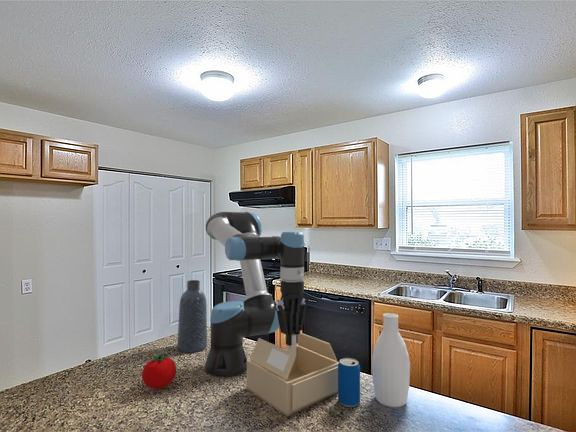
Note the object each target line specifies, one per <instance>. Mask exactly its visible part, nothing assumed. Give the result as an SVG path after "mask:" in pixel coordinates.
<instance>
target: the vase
mask: <svg viewBox="0 0 576 432" xmlns="http://www.w3.org/2000/svg"><path fill="white" fill-rule="evenodd" d="M200 282H201V281H200V280H195V279H191V280H187V282H186V284H187V285H186V287H187V288H186V290H185V291H184V292H183V293H182V295H181V297H180V298H179V309H178V324H177V325H178V328H177V347H176V348H177V350H178V351H179V352H182V353H196V352H200V351H203V350H205V349H206V348H207V347H208V323H207V322H208V321H207V320H208V319H207V318H208V317H207V315H208V314H207V313H208V312H207V311H208V310H207V297H206V294H205V293H204V292H203V291H202V289H200V287H201V286H200V285H201V283H200Z"/></svg>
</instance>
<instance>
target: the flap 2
mask: <svg viewBox="0 0 576 432" xmlns="http://www.w3.org/2000/svg"><path fill="white" fill-rule="evenodd" d="M299 332H300V334H299V335H298V342H297V344H296V345H299V346H301V347H303V348H306V349H308V350H311V351H313V352H315V353H318V354H320V355H323V356H325V357H327V358H330V359H332V360H335V361H337V362H338V359H337V357H336V354H335V353H334V350H333V347H332V345H331V343H329V342H328V341H324V340H323V339H319V338H317V337H314V336H311V335H308V334H305V333H303V332H302V331H299Z"/></svg>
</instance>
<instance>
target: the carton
mask: <svg viewBox="0 0 576 432" xmlns="http://www.w3.org/2000/svg"><path fill="white" fill-rule="evenodd" d="M284 349H285V350H287V348H284ZM339 362H340V361H338V360H337V361H335V360H332V359H330V358H327V357H325V356H323V355H320V354H318V353H315V352H313V351H311V350H308V349H306V348H303V347H301V346H299V345H298V344H296V358H295V360H294V363H293V366H292V368H291V371H290V374H289V376H288V379H287V380H286V379H284V378H282V377H281V376H279V375H277V374H275V373H273V372H272V371H270V370H268V369H266V368H264V367H263V366H261V365H259V364H257V363H255V362H254V361H252V360H250V359H247V369H246V390H247V391H249V393H251V394H253V395H255V397H257V398H259V399H260V400H262V401H263V402H264V403H265V404H266V403H267V405H269V406H271V407H272V408H273V409H274V410H277V411H278V412H279V413H281V415H284V416H285V417H287V418H288V417H289V416H291V415H294V414H295V413H299V411H302V410H304V409H306V408H309V407H311V406H313V405H315V404H317V403H319V402H322V401H324V400H325V399H327V398H329V397H333V396H334V395H336V394H338V364H339Z"/></svg>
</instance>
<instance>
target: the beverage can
mask: <svg viewBox="0 0 576 432" xmlns="http://www.w3.org/2000/svg"><path fill="white" fill-rule="evenodd" d="M338 362H339V364H338V393H337V400H338V402H339V403H340V404H341V405H342V406H344V407H345V408H355V407H357V406H358V405H359V404H360V403H361V365H360V363H359V361H358V360H357V359H355V358H352V357H351V358H350V357H344V358H343V357H342V358H341V359H339V361H338Z"/></svg>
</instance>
